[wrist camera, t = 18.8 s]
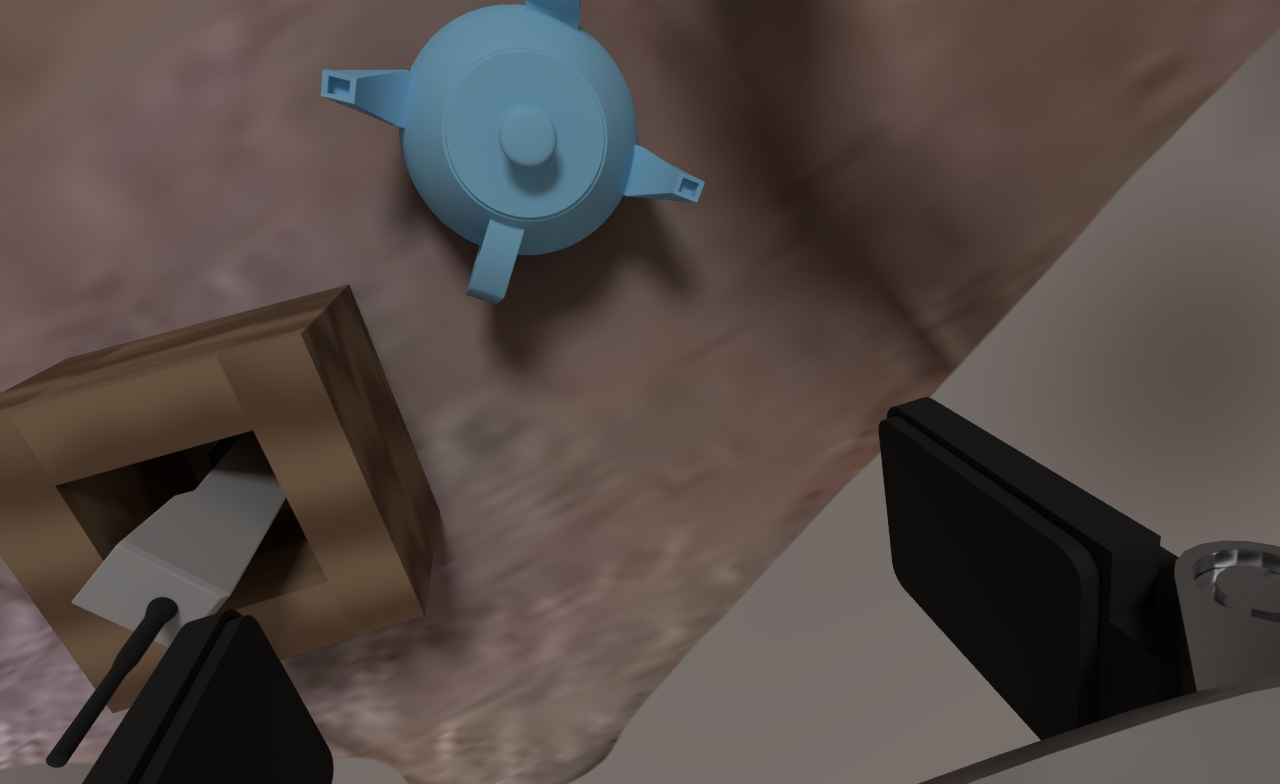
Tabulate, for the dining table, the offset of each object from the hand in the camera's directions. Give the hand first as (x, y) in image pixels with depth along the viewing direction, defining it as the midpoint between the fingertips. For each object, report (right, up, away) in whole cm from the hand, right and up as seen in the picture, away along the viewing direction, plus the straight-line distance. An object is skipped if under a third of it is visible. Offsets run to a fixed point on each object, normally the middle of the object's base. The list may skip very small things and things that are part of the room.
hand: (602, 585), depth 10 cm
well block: (-25, -1, +37) cm, 44 cm away
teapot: (-7, +19, +33) cm, 39 cm away
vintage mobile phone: (-24, -1, +36) cm, 43 cm away
